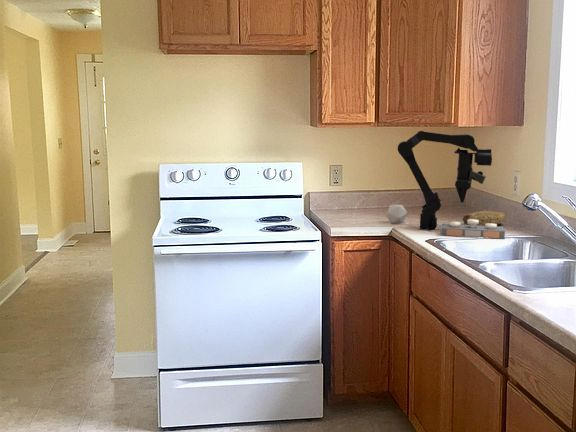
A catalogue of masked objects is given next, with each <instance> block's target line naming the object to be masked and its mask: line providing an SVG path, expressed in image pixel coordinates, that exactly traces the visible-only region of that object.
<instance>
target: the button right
mask: <svg viewBox="0 0 576 432" xmlns="http://www.w3.org/2000/svg"><path fill="white" fill-rule="evenodd" d="M497 226H498V224H494V223H486V224H485V228H488V229H496V228H497Z"/></svg>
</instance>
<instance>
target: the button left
mask: <svg viewBox="0 0 576 432" xmlns="http://www.w3.org/2000/svg"><path fill="white" fill-rule="evenodd" d="M448 222H449V223H448V224H449V226H451V227H460V225H461V221H448Z"/></svg>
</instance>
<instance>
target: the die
mask: <svg viewBox="0 0 576 432" xmlns="http://www.w3.org/2000/svg"><path fill="white" fill-rule="evenodd" d="M407 216H408V211H407V210H406V208H405V207H404V206H403V204H389V206H388V209H387V211H386V214H385V217H386V218H387V219H388V221H389V223H390V224H393V225H394V224H395V223H403V224H404V222H405V220H406V217H407ZM395 225H396V224H395Z"/></svg>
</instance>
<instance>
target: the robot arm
mask: <svg viewBox="0 0 576 432" xmlns="http://www.w3.org/2000/svg"><path fill="white" fill-rule="evenodd" d="M423 141H427V142H435V143H440V144H441V143H443V144H451V145H453V146H455V147H457V148H456V150H454V151H453V154H457V155H458V158H457V170H456V171H457V174H456V180H455V182H454V186H455V188H456V192H457V195H458V197H459V201H460V203H463V204H464V202H465V199H466V195H467V191H468V190H469V189H471V188H472V185H473V184H472V183H473V181H475V182H478V183H479V184H481V185H482V184H483V183H484V182H485V180H486V175H484V172H483V171H481V170H479V171H478V172H477V171H475V170H473V163H474V164H476V166H483V167H484V166H485V167H486V166H487V167H491V166H492V163H493V157H492V156H493V155H492V154H493V153H492V149H491V148H486V149H485V148H484V149H483V148H479V147H478V146H477V145H476V144H475V141H476V140H475V138H474V136H473V135H471V134H468V133H464V134H463V133H462V134H461V133H460V134H459V133H458V134H447V133H446V134H445V133H439V132H438V133H437V132H431V131H425V130H418V131H417V132H416V133H415V134H414V135H412V136H411V137H410V138H409V139H407V140H403V141H400V142H399V143H398V144H397V152H398V154H399V155H400V157H402V158H403V160H404V161H405V163H406V164H407V165H408V167H409V169H410V171H411V173H412V175H413V177H414V179H415V181H416V183H417V185H418V186H419V188H420V190H421V192H422V196H423V199H424V202H425V203H424V204H423V206H421V207H420V210H421V213H420V215H419V227H418V229H419V230H427V231H429V230H430V231H435V230H436V229H437V226H438V217H436V216H437V214H436V213H437V212H438V211H439V210H440V209H441V207H442V204H441V201H442V199H441V197H439V194H438V192H437V190H434V191H433V190H432V189H431V187H430V185H429V183H428V182H427V180H426V177H425V176H424V174H423V172H422V169H421V168H420V166H419V164H418V162H417V160H416V158H415V154H414V151H413V148H415V147H416V146H417V145H419V144H420V143H422V142H423ZM460 148H462V149H460ZM469 150H470V151H471V152H469ZM472 180H473V181H472Z"/></svg>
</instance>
